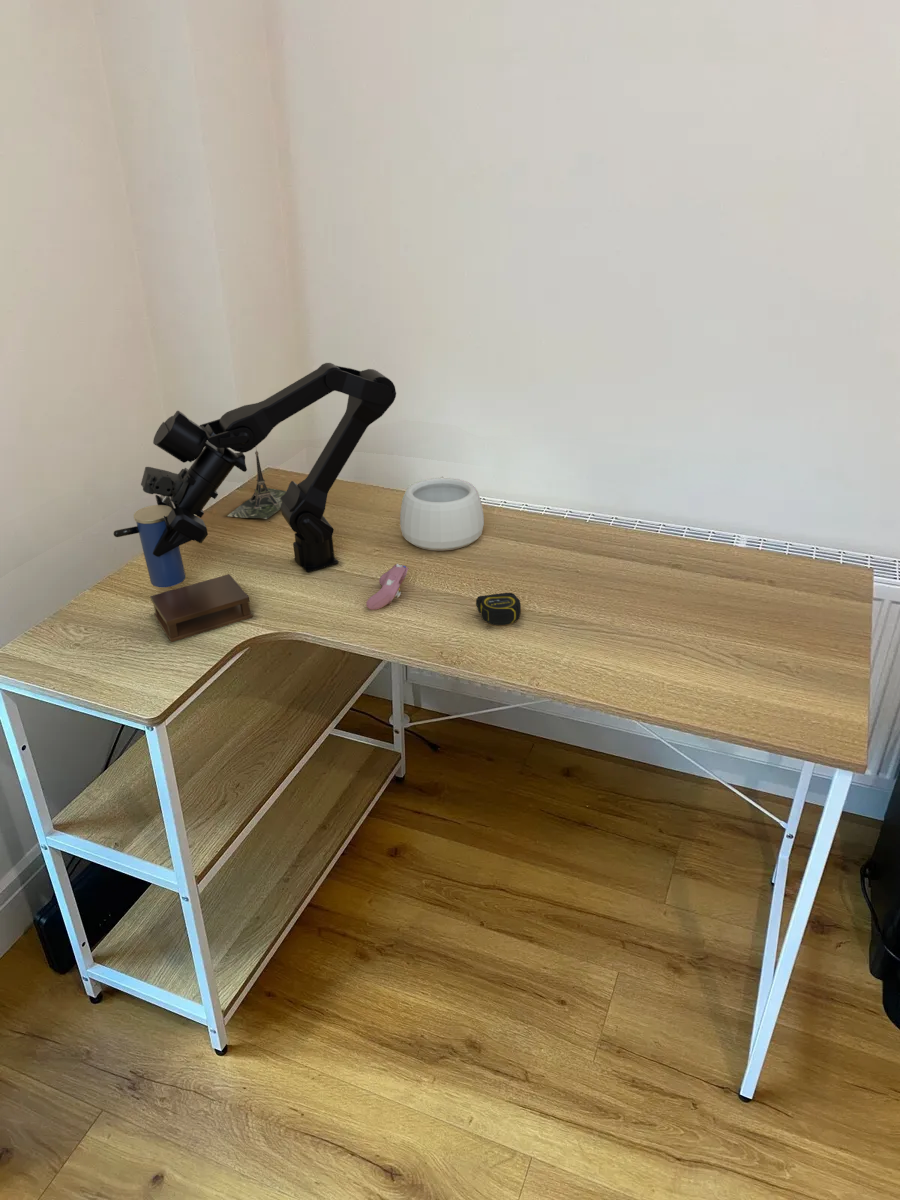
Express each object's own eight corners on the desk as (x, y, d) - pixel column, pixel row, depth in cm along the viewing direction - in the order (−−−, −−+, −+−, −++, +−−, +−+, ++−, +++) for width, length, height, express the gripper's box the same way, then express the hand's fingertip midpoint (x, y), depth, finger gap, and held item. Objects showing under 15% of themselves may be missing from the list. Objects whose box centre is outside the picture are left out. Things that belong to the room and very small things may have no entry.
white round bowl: (484, 554, 165) (484, 506, 160) (398, 555, 165) (395, 508, 160) (482, 508, 183) (482, 464, 178) (404, 510, 184) (402, 466, 179)
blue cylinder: (183, 567, 156) (169, 502, 150) (189, 582, 151) (175, 515, 145) (125, 580, 153) (108, 513, 146) (129, 596, 148) (112, 528, 141)
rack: (232, 593, 154) (229, 573, 152) (252, 617, 147) (249, 597, 145) (154, 616, 148) (149, 596, 146) (171, 642, 140) (166, 621, 138)
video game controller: (386, 620, 148) (402, 590, 144) (363, 608, 147) (378, 577, 144) (401, 592, 156) (416, 563, 152) (378, 580, 156) (393, 551, 152)
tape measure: (514, 607, 147) (515, 588, 146) (525, 627, 142) (525, 608, 140) (475, 611, 146) (475, 592, 145) (484, 632, 141) (484, 612, 139)
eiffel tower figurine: (267, 522, 180) (259, 461, 173) (226, 516, 183) (216, 456, 177) (302, 495, 192) (296, 437, 185) (263, 489, 195) (255, 433, 189)
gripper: (156, 434, 150) (105, 504, 151) (173, 469, 135) (116, 547, 137) (209, 468, 156) (159, 535, 158) (231, 505, 142) (176, 579, 143)
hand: (152, 547), depth 149 cm, fingers closed on blue cylinder, 6 cm apart
